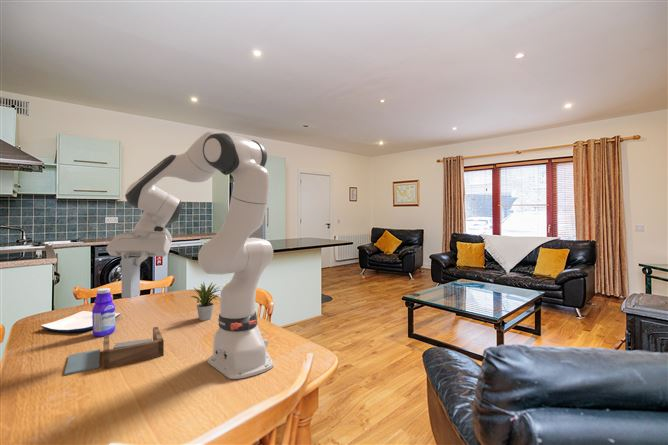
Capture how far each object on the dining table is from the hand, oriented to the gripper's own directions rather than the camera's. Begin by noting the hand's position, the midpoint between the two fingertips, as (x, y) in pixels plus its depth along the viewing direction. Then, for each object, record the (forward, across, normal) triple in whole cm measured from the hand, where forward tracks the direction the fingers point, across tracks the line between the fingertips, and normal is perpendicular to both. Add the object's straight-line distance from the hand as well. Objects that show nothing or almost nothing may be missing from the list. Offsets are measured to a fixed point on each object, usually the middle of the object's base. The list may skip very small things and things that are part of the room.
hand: (129, 264), depth 106 cm
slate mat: (+27, -9, +15) cm, 32 cm away
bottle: (+11, -19, +31) cm, 38 cm away
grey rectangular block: (+7, 0, +8) cm, 11 cm away
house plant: (-1, +13, +43) cm, 45 cm away
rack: (+22, +2, +20) cm, 29 cm away
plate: (+4, -34, +38) cm, 51 cm away
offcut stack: (+24, +4, +18) cm, 30 cm away
